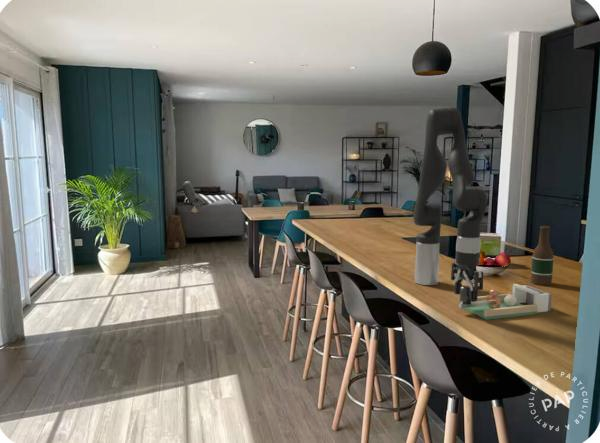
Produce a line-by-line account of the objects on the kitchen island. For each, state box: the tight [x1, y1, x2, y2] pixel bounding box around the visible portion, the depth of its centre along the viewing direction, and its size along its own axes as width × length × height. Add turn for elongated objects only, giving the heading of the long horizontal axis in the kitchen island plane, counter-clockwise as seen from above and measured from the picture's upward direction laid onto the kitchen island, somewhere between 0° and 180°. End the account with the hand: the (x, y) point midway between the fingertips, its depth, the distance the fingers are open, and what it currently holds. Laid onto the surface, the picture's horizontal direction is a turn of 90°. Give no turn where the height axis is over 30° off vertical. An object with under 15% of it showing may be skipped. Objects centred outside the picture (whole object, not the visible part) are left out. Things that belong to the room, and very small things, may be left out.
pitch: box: [463, 293, 538, 321], centre depth 161 cm, size 14×20×3 cm
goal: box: [511, 283, 553, 313], centre depth 165 cm, size 11×6×7 cm, turn 16°
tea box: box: [480, 232, 502, 258], centre depth 231 cm, size 15×10×15 cm, turn 81°
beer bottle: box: [530, 225, 555, 287], centre depth 194 cm, size 8×8×24 cm
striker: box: [458, 284, 500, 309], centre depth 159 cm, size 5×14×8 cm, turn 106°
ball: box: [504, 294, 517, 306], centre depth 163 cm, size 4×4×4 cm
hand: (465, 297), depth 157 cm, fingers open, 8 cm apart
